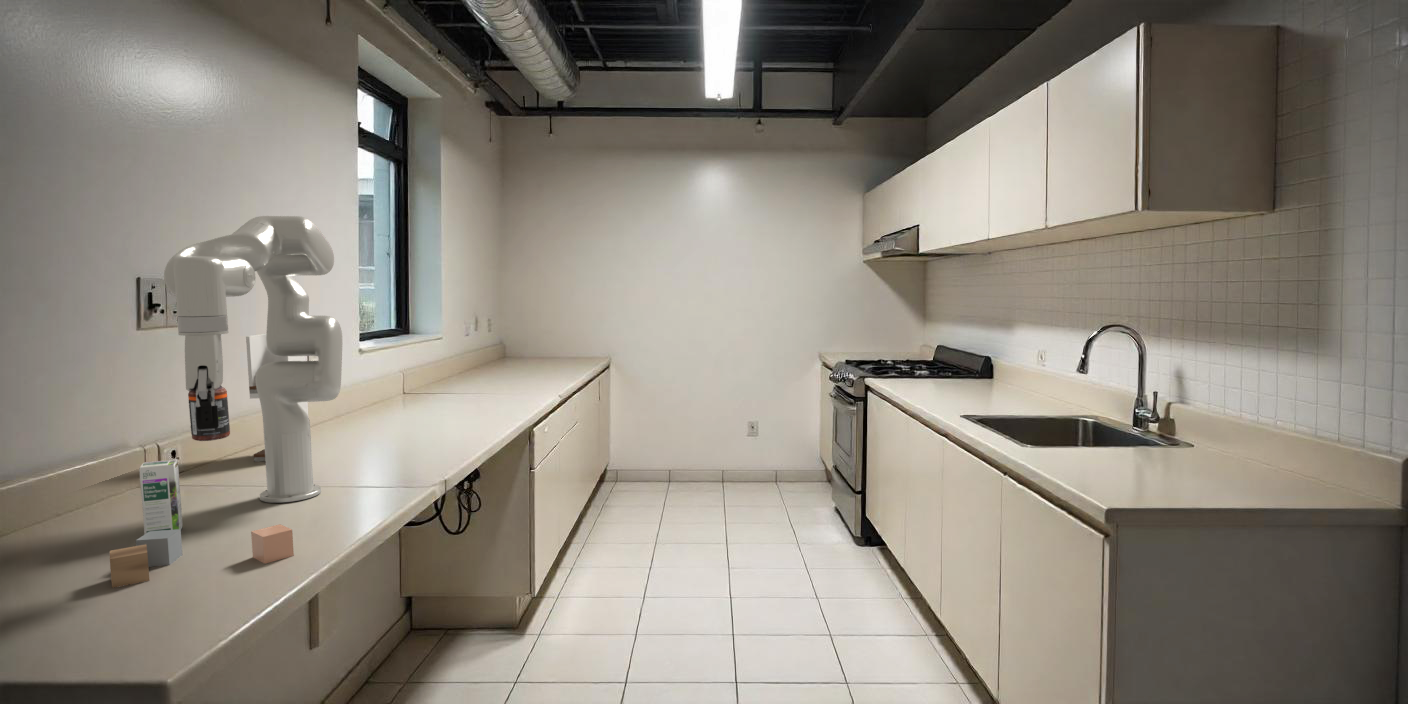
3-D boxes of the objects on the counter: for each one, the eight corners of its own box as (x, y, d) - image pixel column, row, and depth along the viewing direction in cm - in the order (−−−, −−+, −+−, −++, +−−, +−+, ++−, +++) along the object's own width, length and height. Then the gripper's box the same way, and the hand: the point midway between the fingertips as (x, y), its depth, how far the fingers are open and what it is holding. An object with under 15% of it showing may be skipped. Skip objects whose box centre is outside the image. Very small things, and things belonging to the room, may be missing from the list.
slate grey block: (151, 557, 139) (149, 531, 139) (182, 555, 140) (180, 529, 140) (137, 567, 134) (135, 540, 134) (169, 565, 135) (167, 538, 135)
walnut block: (112, 579, 129) (109, 550, 129) (148, 572, 132) (146, 544, 132) (112, 588, 125) (109, 559, 125) (149, 581, 128) (147, 552, 128)
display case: (272, 452, 223) (265, 333, 220) (310, 451, 225) (303, 333, 221) (253, 461, 212) (245, 336, 209) (293, 460, 213) (286, 336, 210)
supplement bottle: (203, 435, 141) (199, 374, 140) (237, 434, 142) (232, 374, 140) (184, 442, 135) (179, 379, 134) (219, 441, 136) (215, 378, 135)
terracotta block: (252, 557, 139) (251, 531, 138) (281, 550, 143) (280, 524, 142) (264, 564, 136) (262, 537, 135) (293, 556, 140) (292, 529, 139)
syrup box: (143, 540, 148) (138, 467, 147) (149, 531, 153) (144, 460, 152) (179, 535, 151) (173, 463, 149) (183, 526, 156) (178, 457, 155)
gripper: (185, 324, 142) (192, 419, 144) (170, 330, 127) (178, 436, 129) (232, 322, 146) (238, 415, 147) (223, 328, 130) (230, 431, 132)
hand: (210, 424), depth 138 cm, fingers closed on supplement bottle, 6 cm apart
